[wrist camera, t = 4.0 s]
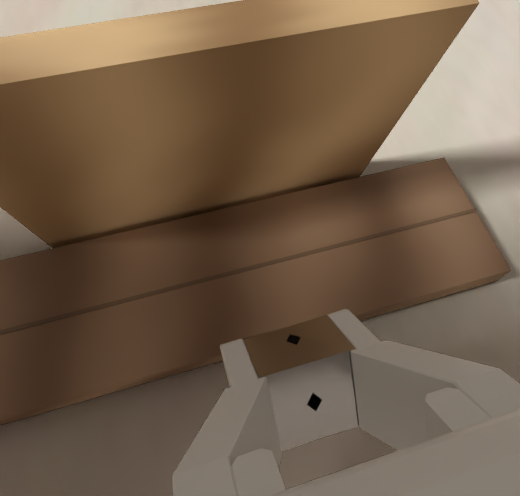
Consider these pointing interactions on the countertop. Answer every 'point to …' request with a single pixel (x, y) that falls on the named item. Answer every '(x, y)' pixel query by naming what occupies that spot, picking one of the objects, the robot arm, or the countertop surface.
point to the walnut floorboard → (230, 282)
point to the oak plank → (205, 107)
